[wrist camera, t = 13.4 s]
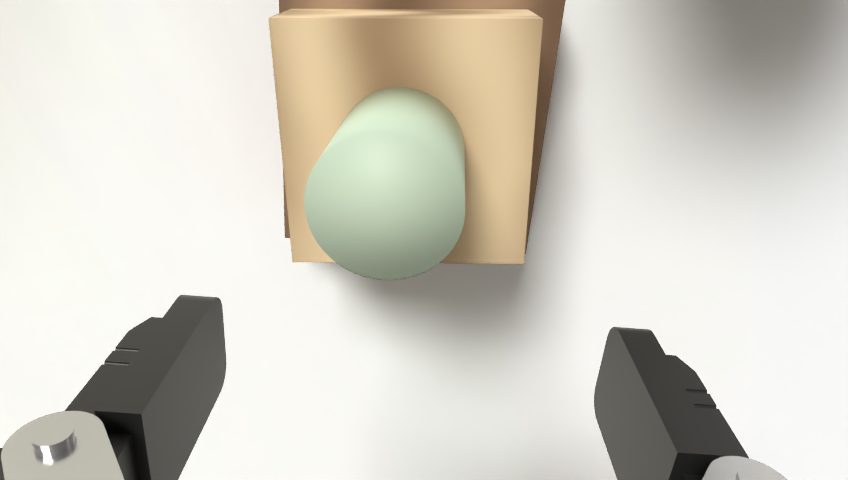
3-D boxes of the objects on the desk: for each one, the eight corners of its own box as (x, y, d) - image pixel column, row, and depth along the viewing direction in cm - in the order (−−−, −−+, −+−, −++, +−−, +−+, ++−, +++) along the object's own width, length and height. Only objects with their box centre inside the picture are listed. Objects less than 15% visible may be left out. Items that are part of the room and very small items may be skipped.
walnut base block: (549, -8, 30) (565, -3, 26) (515, 222, 35) (525, 253, 31) (297, -28, 29) (278, -25, 26) (300, 207, 34) (285, 237, 31)
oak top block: (527, 9, 26) (543, 18, 23) (513, 226, 30) (523, 263, 27) (291, 8, 26) (268, 18, 23) (309, 225, 30) (292, 261, 27)
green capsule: (467, 89, 23) (469, 133, 18) (461, 211, 26) (461, 283, 20) (336, 84, 24) (298, 127, 18) (341, 206, 26) (309, 276, 20)
